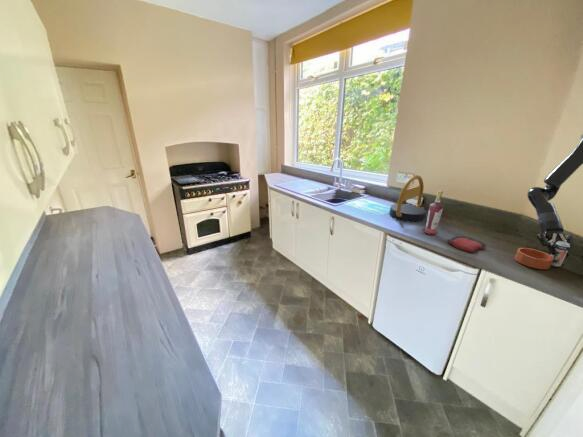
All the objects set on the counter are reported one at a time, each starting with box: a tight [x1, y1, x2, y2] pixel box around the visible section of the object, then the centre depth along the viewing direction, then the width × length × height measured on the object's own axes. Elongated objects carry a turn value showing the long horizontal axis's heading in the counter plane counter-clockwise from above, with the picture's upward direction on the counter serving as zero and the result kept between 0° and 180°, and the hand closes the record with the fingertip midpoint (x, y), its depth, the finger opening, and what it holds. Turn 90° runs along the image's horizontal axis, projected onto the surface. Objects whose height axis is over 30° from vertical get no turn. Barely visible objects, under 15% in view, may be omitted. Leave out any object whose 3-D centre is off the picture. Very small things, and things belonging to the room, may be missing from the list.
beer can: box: [550, 241, 571, 267], centre depth 113 cm, size 5×5×12 cm
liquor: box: [423, 189, 445, 236], centre depth 145 cm, size 7×7×28 cm
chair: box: [388, 174, 427, 223], centre depth 173 cm, size 25×35×32 cm
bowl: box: [514, 247, 554, 270], centre depth 116 cm, size 13×13×6 cm
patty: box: [447, 237, 484, 254], centre depth 134 cm, size 18×14×2 cm
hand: (560, 255), depth 112 cm, fingers closed on beer can, 5 cm apart
